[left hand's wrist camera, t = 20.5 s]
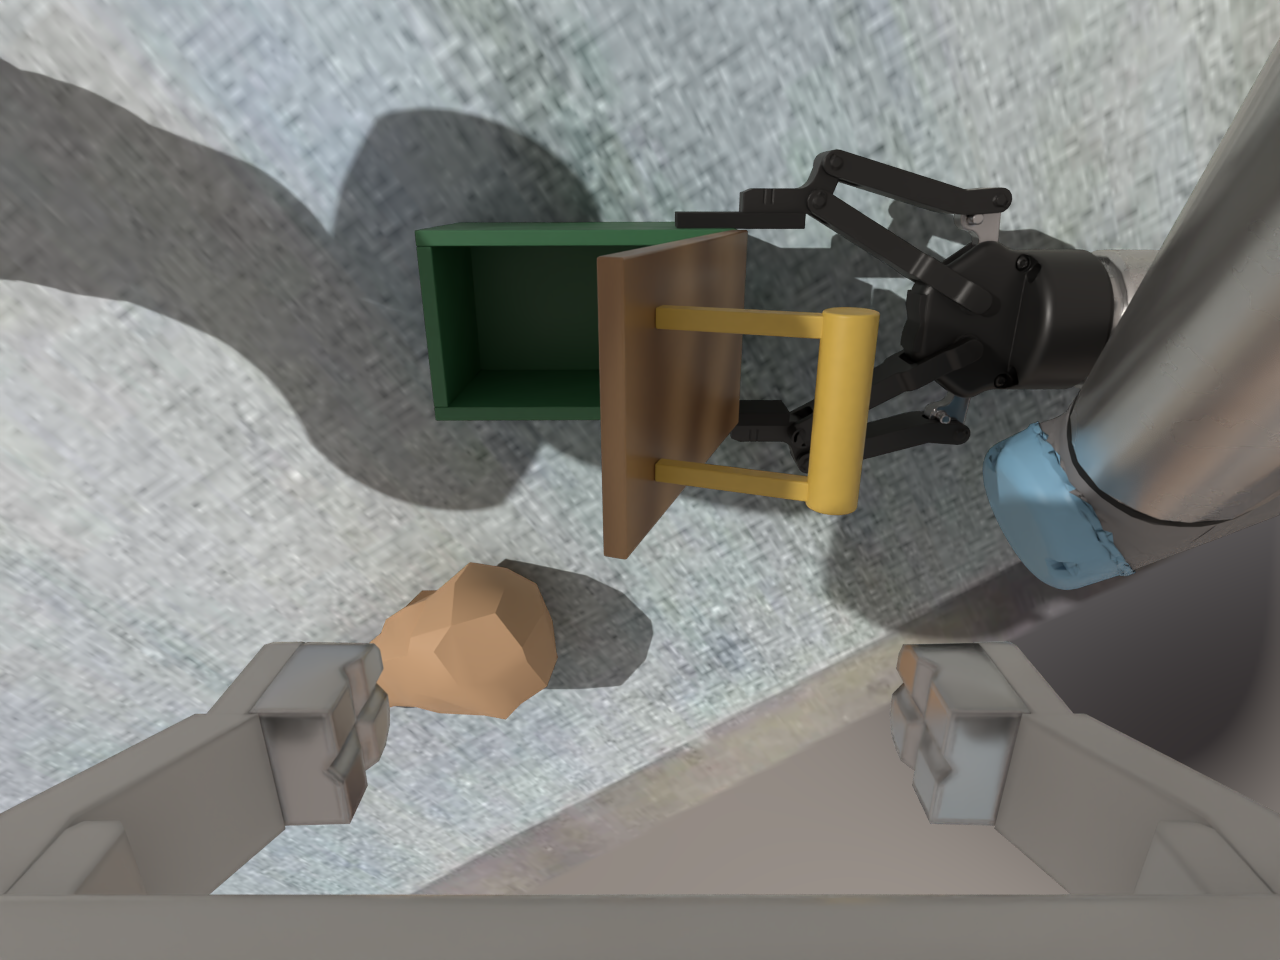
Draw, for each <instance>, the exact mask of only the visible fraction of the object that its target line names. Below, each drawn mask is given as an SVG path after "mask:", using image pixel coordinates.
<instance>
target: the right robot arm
mask: <svg viewBox="0 0 1280 960" xmlns="http://www.w3.org/2000/svg"><path fill="white" fill-rule="evenodd" d="M838 182H840V183H844V184H847V185H850V186H853V187H856V188H860V189H863V190H866V191H869V192H872V193H876V194H879V195H882V196H885V197H888V198H892V199H895V200H898V201H901V202H905V203H908V204H911V205H914V206H917V207H921V208H924V209H927V210H930V211H934V212H938V213H946V214H954V224H955V226H956V227H957V228H959V229H962V230H966V231H968V232H969V233H970V234H971V237H972V242H971V243H969V244H967V245H966V246H965V247H963V248H962V249H960V250H959V251H957V252H956V253H954V254H953V255H951V256H950V257H948V258H947V259H945V260H944V261H942V262H940V261H938V260H936V259H935V258H933V257H931V256H929V255H927V254H925V253H923V252H922V251H920V250H919V249H917V248H915V247H914V246H912V245H911V244H909V243H908V242H906V241H904V240H903V239H901V238H900V237H898V236H897V235H895V234H894V233H892V232H890V231H889V230H887V229H886V228H884V227H883V226H881V225H880V224H878V223H876V222H875V221H873V220H872V219H870V218H869V217H867V216H865V215H864V214H862V213H861V212H859V211H858V210H856V209H855V208H853V207H851V206H850V205H848V204H847V203H845V202H844V201H842V200H840V199H839V198H837V197H836V196H834V195H833V192H834V190H835V188H836V186H837V183H838ZM1011 202H1012V194H1011V192H1010V191H1009V190H1008V189H1006V188H972V189H962V188H959V187H956V186H953V185H950V184H946V183H943V182H940V181H937V180H934V179H931V178H927V177H924V176H921V175H918V174H915V173H912V172H909V171H905V170H902V169H899V168H896V167H893V166H890V165H886V164H883V163H880V162H877V161H874V160H871V159H868V158H864V157H861V156H858V155H855V154H852V153H849V152H845V151H842V150H831V151H826V152H823V153H820V154H819V155H818V156H816V158H815V160H814V163H813V169H812V171H811V174H810V176H809V178H808V180H807V182H806V183H805V184H804V185H803V186H801V187H799V188H795V189H748V190H745V191H743V192H740V202H739V212H675V227H676V228H735V229H805V217H806V214H808V215H809V216H811V217H813V218H814V219H816V220H817V221H819V222H821V223H822V224H824V225H825V226H827V227H829V228H830V229H832V230H833V231H835V232H836V233H838V234H840V235H841V236H843V237H844V238H846V239H848V240H849V241H851V242H852V243H854V244H856V245H857V246H859V247H860V248H862V249H863V250H865V251H867V252H868V253H870V254H871V255H873V256H875V257H876V258H878V259H879V260H881V261H883V262H884V263H886V264H887V265H889V266H890V267H892V268H894V269H895V270H896V271H897V272H899V273H900V274H902V275H903V276H905V277H906V278H908V279H910V280H911V281H913V282H914V283H915V284H914V285H913V287H912V289H911V290H908V291H907V299H906V309H907V316H908V318H907V321H906V324H905V326H904V329H903V331H902V337H901V344H900V345H901V346H902V347H904V349H903V350H901V351H900V352H898V353H896V354H894V355H892V356H890V357H888V358H887V359H886V360H885V361H884V363H882V364H881V365H879V366H877V367H875V368H874V369H873V377H872V386H871V394H870V403H869V410H870V409H871V408H873V407H875V406H877V405H879V404H881V403H883V402H885V401H887V400H889V399H891V398H893V397H895V396H897V395H899V394H901V393H903V392H906V391H913V390H916V389H918V388H920V387H922V386H924V385H926V384H928V383H930V382H932V381H936V382H937V383H938V384H939V385H941V386H942V387H943V388H945V389H946V390H947V391H948V392H947V395H946V396H945V398H943V399H942V400H940V401H938V402H933V403H930V404H928V405H927V406H926V408H925V411H915V412H908V413H903V414H899V415H895V416H891V417H888V418H884V419H880V420H876V421H872V422H868V423H867V428H866V437H865V445H864V453H863V459H867V458H871V457H875V456H879V455H882V454H886V453H890V452H894V451H898V450H902V449H906V448H910V447H914V446H917V445H921V444H925V443H940V444H954V445H959V444H963V443H965V442H966V441H967V440H968V439H969V437H970V430H969V428H968V427H967V426H966V425H964V422H965V418H966V414H967V410H968V406H969V402H970V398H971V397H974V396H976V395H978V394H980V393H982V392H984V391H987V390H992V389H1067V388H1071V387H1073V386H1074V387H1076V388H1078V389H1081V390H1080V391H1079V393H1078V395H1077V396H1076V398H1075V399H1074V401H1073V402H1072V404H1071V405H1070V407H1069V409H1068V411H1067V412H1065V413H1064V414H1062V415H1060V416H1059V417H1056V418H1054V419H1051V420H1048V421H1045V422H1042V423H1039V422H1038V421H1037V423H1033V424H1030V425H1029V427H1028V428H1027V429H1025V430H1023V431H1021V432H1019V433H1017V434H1015V435H1013V436H1011V437H1009V438H1007V439H1005V440H1003V441H1001V442H999V443H997V444H996V445H994V446H993V447H992V448H991V449H990V450H989V451H988V453H987V454H986V456H985V459H984V462H983V480H984V486H985V490H986V493H987V497H988V500H989V503H990V505H991V508H992V510H993V513H994V515H995V517H996V519H997V522H998V524H999V526H1000V528H1001V530H1002V531H1003V533H1004V535H1005V537H1006V538H1007V540H1008V542H1009V544H1010V545H1011V547H1012V548H1013V550H1014V552H1015V553H1016V554H1017V556H1018V557H1019V558H1020V560H1021V561H1022V562H1023V564H1024V565H1025V566H1026V567H1027V568H1028V569H1029V570H1030V571H1031V572H1032V573H1033V574H1034V575H1035V576H1036V577H1037V578H1038V579H1040V580H1041V581H1042V582H1044V583H1046V584H1047V585H1050V586H1052V587H1055V588H1058V589H1063V590H1071V589H1077V588H1080V587H1084V586H1087V585H1090V584H1093V583H1096V582H1099V581H1102V580H1106V579H1109V578H1112V577H1115V576H1118V575H1120V576H1128V575H1131V574H1133V573H1136V571H1135V569H1138V568H1140V567H1143V566H1146V565H1148V564H1151V563H1153V562H1156V561H1159V560H1161V559H1164V558H1167V557H1170V556H1172V555H1175V554H1178V553H1180V552H1183V551H1186V550H1189V549H1191V548H1194V547H1197V546H1200V545H1202V544H1205V543H1208V542H1210V541H1213V540H1216V539H1218V538H1221V537H1224V536H1226V535H1229V534H1231V533H1234V532H1237V531H1239V530H1242V529H1245V528H1247V527H1250V526H1252V525H1255V524H1258V523H1260V522H1263V521H1265V520H1268V519H1271V518H1273V517H1276V516H1279V515H1280V38H1279V40H1278V42H1277V43H1276V45H1275V47H1274V49H1273V50H1272V52H1271V54H1270V56H1269V57H1268V59H1267V61H1266V63H1265V65H1264V66H1263V68H1262V70H1261V72H1260V73H1259V75H1258V77H1257V79H1256V80H1255V82H1254V84H1253V86H1252V87H1251V89H1250V91H1249V93H1248V95H1247V96H1246V98H1245V100H1244V102H1243V103H1242V105H1241V107H1240V109H1239V110H1238V112H1237V114H1236V116H1235V118H1234V119H1233V121H1232V123H1231V125H1230V126H1229V128H1228V130H1227V132H1226V133H1225V135H1224V137H1223V139H1222V140H1221V142H1220V144H1219V146H1218V148H1217V149H1216V151H1215V153H1214V155H1213V156H1212V158H1211V160H1210V162H1209V163H1208V165H1207V167H1206V169H1205V171H1204V172H1203V174H1202V176H1201V178H1200V179H1199V181H1198V183H1197V185H1196V186H1195V188H1194V190H1193V192H1192V193H1191V195H1190V197H1189V199H1188V201H1187V202H1186V204H1185V206H1184V208H1183V209H1182V211H1181V213H1180V215H1179V216H1178V218H1177V220H1176V222H1175V223H1174V225H1173V227H1172V229H1171V231H1170V232H1169V234H1168V236H1167V238H1166V239H1165V241H1164V243H1163V245H1162V246H1161V248H1160V250H1096V251H1094V252H1091V253H1090V252H1088V251H1086V250H1013V249H1009V248H1007V247H1006V246H1004V245H1003V244H1001V243H999V242H998V236H999V226H1000V216H1001V212H1004V211H1005V210H1007V209H1008V207H1009V206H1010V205H1011ZM814 400H815V399H814ZM814 400H812V401H810V402H808V403H806V404H804V405H802V406H801V407H799V408H797V409H795V410H793V411H791V412H789V411H788V409H787V408H786V406H785V405H784V403H783V402H782V400H739V418H738V424H737V425H736V426H735V427H734V428H733V430H732V431H731V432H730V436H731V438H732V439H735V440H737V441H740V442H747V441H781V442H785V443H787V444H788V445H789V448H790V453H791V455H792V457H793V459H794V461H795V462H796V464H797V466H798V468H799V469H800V470H801V471H802V472H804V473H808V468H809V457H810V445H811V434H812V423H813V412H814Z"/></svg>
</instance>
